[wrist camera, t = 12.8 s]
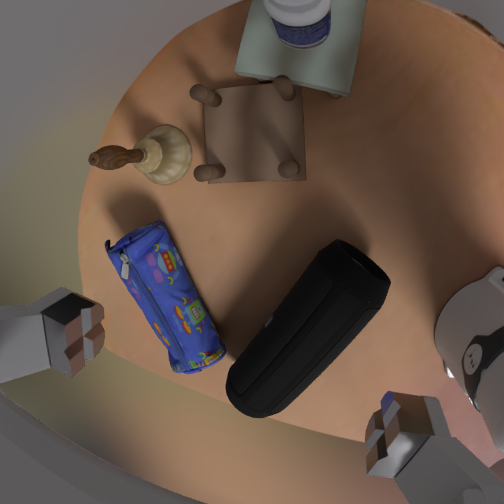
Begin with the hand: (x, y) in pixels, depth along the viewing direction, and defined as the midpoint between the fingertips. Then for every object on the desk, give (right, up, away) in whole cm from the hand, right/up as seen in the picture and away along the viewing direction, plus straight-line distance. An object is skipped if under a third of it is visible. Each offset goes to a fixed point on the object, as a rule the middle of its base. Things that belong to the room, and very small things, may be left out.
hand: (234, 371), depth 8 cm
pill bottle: (+6, +26, +19) cm, 33 cm away
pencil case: (-10, -2, +40) cm, 41 cm away
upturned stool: (+1, +18, +31) cm, 36 cm away
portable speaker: (+8, -6, +37) cm, 38 cm away
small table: (+7, +28, +27) cm, 39 cm away
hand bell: (-11, +16, +34) cm, 40 cm away
